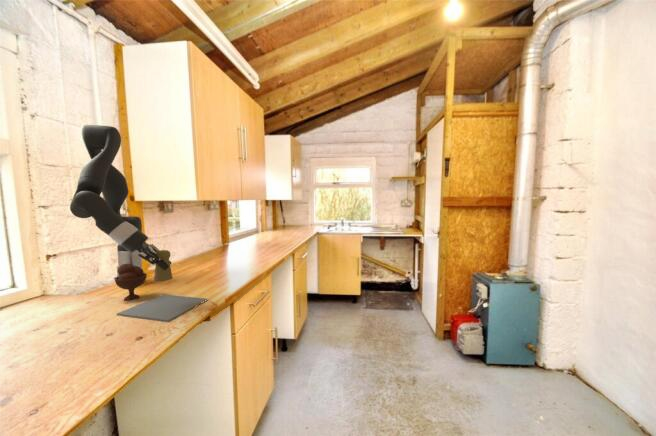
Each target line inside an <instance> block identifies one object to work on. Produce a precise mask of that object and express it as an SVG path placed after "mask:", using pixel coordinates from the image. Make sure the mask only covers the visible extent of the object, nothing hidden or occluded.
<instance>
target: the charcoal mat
mask: <svg viewBox="0 0 656 436" xmlns="http://www.w3.org/2000/svg"><path fill="white" fill-rule="evenodd" d="M207 299H208V298H202V297H194V296H186V295H184V296H183V295H175V294H168V293H167V294H165V293H163V294H161V295H158V296H156V297H153V298H151V299H149V300H146V301H144V302H141V303H139V304H136V305H134V306H132V307H129V308H126V309H125V310H122V311H120V312H117V313H116V316H121V317H127V318H128V317H129V318H136V319H142V320H151V321H157V322H158V321H159V322H163V323H164V322H165V323H166V322H167V323H169V322H171V321H172V320H174V319H176V318H178V317H180V316H182V315H184V314H185V312H186V313H187V312H189V311H191V310H192V309H191V308H193V307H195V306H196V305H198V304H200V303H201V302H203V301H205V300H207ZM207 301H208V300H207ZM200 305H201V304H200ZM198 306H199V305H198ZM196 307H197V306H196ZM196 307H195V308H196ZM190 309H191V310H190ZM193 309H194V308H193Z"/></svg>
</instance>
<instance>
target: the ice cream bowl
mask: <svg viewBox="0 0 656 436" xmlns="http://www.w3.org/2000/svg"><path fill="white" fill-rule="evenodd" d="M117 271H118V274H119V276H118V277H117V276H116V277H114V278H113V280H114V282H115V284H116V285H117V287H119V288H120V289H123V290H128V295H126V296H125V297H124V298H123V301H124V302H130V301H136V300H138V299H140V295H139V294H135V290H136V288H139V287H140V286H142V285H143V284H144V283H146V280H147V277H148V276H147V275H148V274H147V273H146V272H144V269H143V268H142V269H141V268H140V267H139V266H133V265H132V264H128V263H127V264H123V265H121V266H120V267H119V268H118V270H117V269H116V272H117Z"/></svg>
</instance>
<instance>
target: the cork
mask: <svg viewBox="0 0 656 436" xmlns="http://www.w3.org/2000/svg"><path fill="white" fill-rule="evenodd" d="M159 250H160V251H157V252H156V253H157V256H158V257H159V258H161V260H163V261H164V262H166V263H167V264H168V265H169V267H168V268H167V269H166V270H163V269H162V268H161V267H159V266H158V265H157V264H156V265H155V269H154V274H153V275H154V277H153V281H154V282H167V281H171V280H173V274H172V268H171V264H170V262H169V261H170V258H171V251H169V250H168V249H167V250H166V249H162V250H161V249H159Z"/></svg>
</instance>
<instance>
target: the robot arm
mask: <svg viewBox="0 0 656 436" xmlns="http://www.w3.org/2000/svg"><path fill="white" fill-rule="evenodd" d="M81 137H82V141H83V144H84V146H85V148H86V150H87V152H88V155H89V158H90V160H89V161H87V162H86V163H85V164H84V166H82V169H81V171H80V174H79V178H78V181H77V187H76V190H75V192H74V194H73V197H72V199H71V202H70V205H69V210H70V212H71V214H72V215H73V216H75V217H77V218H80V219H88V218H91V217H92V219H94V221H95V226H96V227H97V228H98V230H101V231H102V232H103V233H105V234H106V235H107V236H109V237H110V238H111V239H112V241H115V242H116V243H117V244H118V245H117V247H116V250H117V263H118V264H117V266H116V274H117V275H116V277H118V276H119V274H118V271H117V270H118V268H119V267H120V266H121V265H123V264H127V263H128V264H132V265H133V266H139V267H140V268H141V269H143V260H145V261H147V262H148V263H150V264H151V265H155V266H156V264H157V265H158V266H159V267H161V268H162V269H163V270H166V269H167V268H168V267H169V265H168V264H167V263H166V262H164V261H163V260H161V258H159V257H158V256H157V253H156V252H157V251H160V250H161V249H159V248H157V246H156V245H155V244H149V243H148V242H147V241H148V240H149V236H147V235H146V234H145V233H144V232H143V228H142V227H143V226H142V225H143V223H142V222H143V221H142V219H141V218H140V217H139V216H133V215H132V216H131V215H130V216H123V215H122V214H121V208H122V206H123V204H124V202H125V201H126V200H127V198H128V196H129V186H128V183H127V179H126V177H125V176H124V174H123V173H122V172H121V171H120V170H119V169H117V168H116V167H115V165H113V163H114V161H115V159H116V157H117V154H118V153H119V150H120V147H121V146H122V145H121V144H122V137H121V133H120V131H119V129H118V128H117V127H115V126H110V125H101V124H99V125H98V124H84V125H83V126H82V127H81ZM101 195H102V196H103V197H102V196H101ZM169 262H170V265H172V261H171V260H169Z"/></svg>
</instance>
